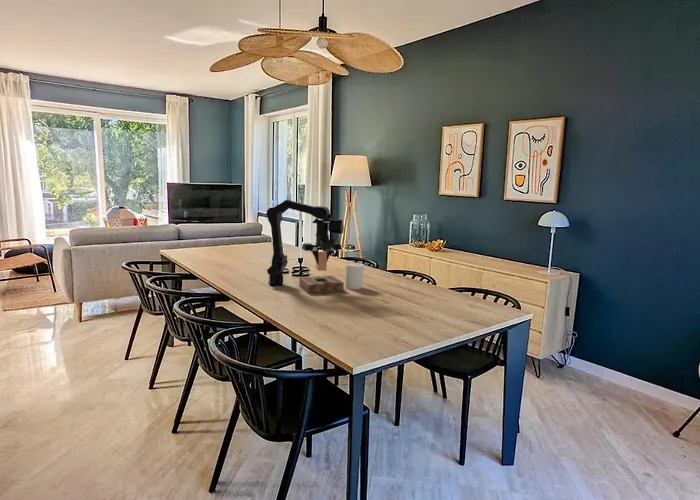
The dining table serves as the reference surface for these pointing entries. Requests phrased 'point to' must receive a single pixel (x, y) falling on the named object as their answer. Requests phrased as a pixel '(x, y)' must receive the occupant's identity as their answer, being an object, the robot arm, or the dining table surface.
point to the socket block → (321, 284)
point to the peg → (322, 261)
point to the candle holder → (354, 275)
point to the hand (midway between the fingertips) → (321, 263)
